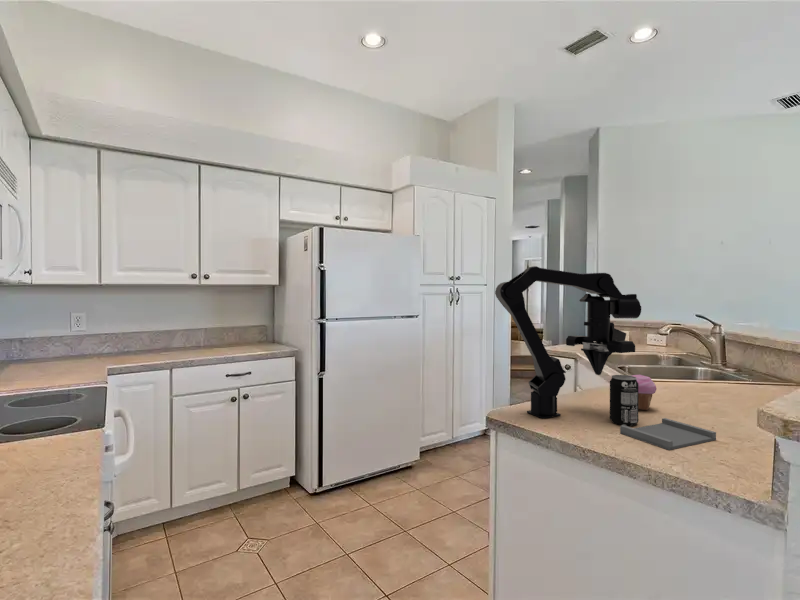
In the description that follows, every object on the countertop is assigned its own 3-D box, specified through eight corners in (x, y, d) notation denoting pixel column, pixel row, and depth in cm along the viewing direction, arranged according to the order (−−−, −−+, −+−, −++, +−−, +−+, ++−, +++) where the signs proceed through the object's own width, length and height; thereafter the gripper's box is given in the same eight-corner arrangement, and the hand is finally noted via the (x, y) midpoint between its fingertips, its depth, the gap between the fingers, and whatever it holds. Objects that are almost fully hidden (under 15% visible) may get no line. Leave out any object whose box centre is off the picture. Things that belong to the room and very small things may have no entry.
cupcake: (658, 414, 117) (658, 378, 117) (623, 410, 120) (623, 376, 120) (653, 406, 125) (653, 372, 125) (620, 403, 128) (620, 370, 128)
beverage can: (614, 417, 114) (614, 373, 113) (641, 422, 109) (641, 376, 109) (605, 422, 109) (606, 376, 109) (633, 428, 104) (633, 380, 104)
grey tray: (669, 450, 90) (669, 441, 90) (620, 433, 101) (620, 425, 101) (716, 439, 96) (716, 432, 96) (665, 425, 107) (665, 417, 107)
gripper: (650, 319, 110) (649, 378, 111) (592, 316, 128) (592, 367, 128) (619, 320, 106) (619, 382, 106) (564, 317, 123) (564, 369, 124)
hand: (598, 374), depth 116 cm, fingers closed
